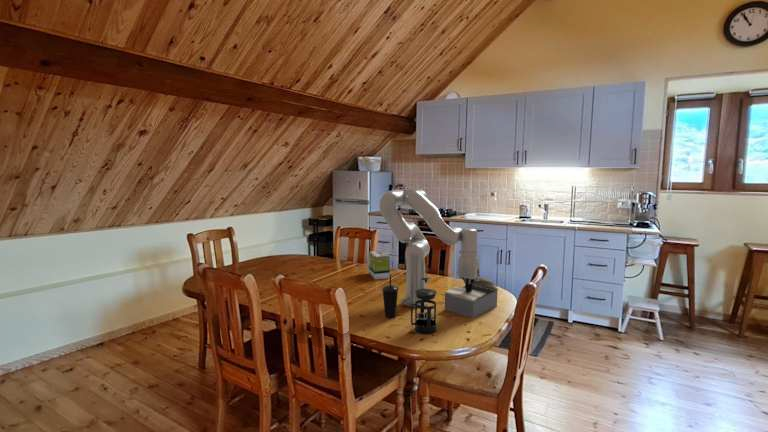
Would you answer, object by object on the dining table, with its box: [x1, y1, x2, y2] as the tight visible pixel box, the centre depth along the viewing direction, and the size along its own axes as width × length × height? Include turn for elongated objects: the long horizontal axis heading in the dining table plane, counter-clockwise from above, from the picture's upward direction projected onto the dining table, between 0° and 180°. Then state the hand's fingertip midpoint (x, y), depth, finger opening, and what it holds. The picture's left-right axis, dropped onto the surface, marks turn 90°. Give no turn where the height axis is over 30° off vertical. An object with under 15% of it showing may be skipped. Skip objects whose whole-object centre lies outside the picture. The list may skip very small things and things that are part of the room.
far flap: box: [472, 276, 499, 292], centre depth 207 cm, size 11×16×1 cm
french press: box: [410, 276, 437, 335], centre depth 175 cm, size 12×9×23 cm
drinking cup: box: [381, 274, 399, 319], centre depth 191 cm, size 8×8×20 cm
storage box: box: [444, 285, 498, 319], centre depth 203 cm, size 22×16×8 cm
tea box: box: [368, 250, 391, 280], centre depth 259 cm, size 15×10×15 cm, turn 17°
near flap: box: [444, 285, 486, 301], centre depth 198 cm, size 11×16×1 cm
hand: (468, 291), depth 199 cm, fingers closed
